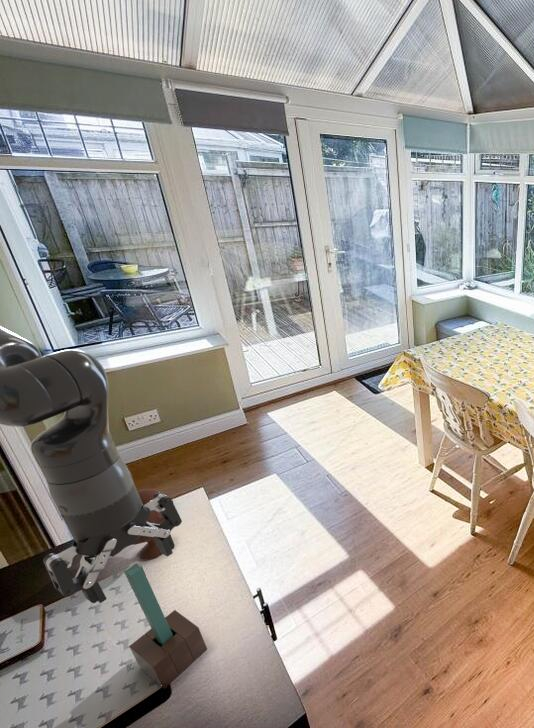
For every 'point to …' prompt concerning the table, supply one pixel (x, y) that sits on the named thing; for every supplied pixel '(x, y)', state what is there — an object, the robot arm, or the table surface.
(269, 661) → the table surface
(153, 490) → the ice cream bowl
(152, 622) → the stick
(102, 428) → the robot arm
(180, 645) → the holder
